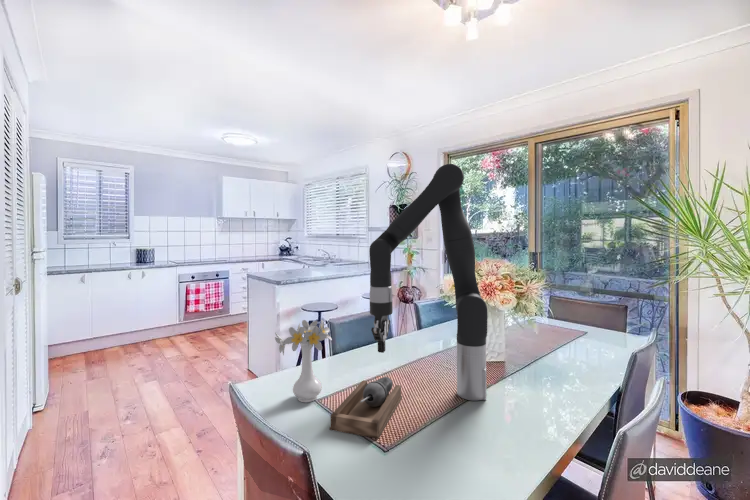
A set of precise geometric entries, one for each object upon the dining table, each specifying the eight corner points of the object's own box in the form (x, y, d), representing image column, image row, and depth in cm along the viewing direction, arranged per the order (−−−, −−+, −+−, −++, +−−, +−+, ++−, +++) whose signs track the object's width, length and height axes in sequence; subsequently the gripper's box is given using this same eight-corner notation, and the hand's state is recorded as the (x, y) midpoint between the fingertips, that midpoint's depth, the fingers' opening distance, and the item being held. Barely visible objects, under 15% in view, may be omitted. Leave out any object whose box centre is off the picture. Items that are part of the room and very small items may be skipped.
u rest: (402, 397, 111) (402, 385, 111) (378, 438, 89) (378, 423, 89) (361, 392, 116) (361, 380, 116) (329, 429, 93) (329, 415, 93)
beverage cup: (395, 396, 114) (375, 418, 96) (375, 392, 117) (351, 413, 98) (397, 374, 115) (377, 392, 96) (376, 370, 118) (353, 387, 99)
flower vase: (270, 401, 110) (268, 323, 109) (320, 384, 122) (318, 314, 121) (289, 417, 100) (287, 331, 100) (341, 397, 112) (340, 321, 112)
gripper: (385, 303, 106) (386, 359, 107) (397, 296, 119) (398, 346, 119) (362, 302, 109) (363, 357, 109) (376, 296, 121) (377, 344, 122)
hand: (381, 351), depth 114 cm, fingers closed
